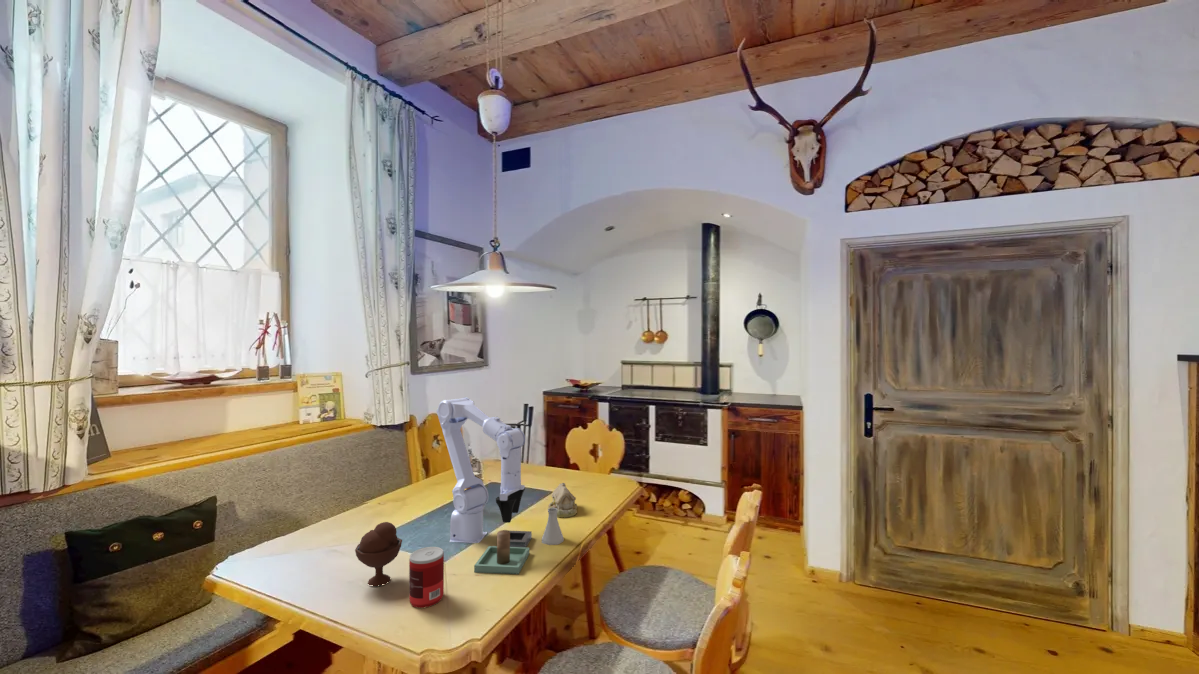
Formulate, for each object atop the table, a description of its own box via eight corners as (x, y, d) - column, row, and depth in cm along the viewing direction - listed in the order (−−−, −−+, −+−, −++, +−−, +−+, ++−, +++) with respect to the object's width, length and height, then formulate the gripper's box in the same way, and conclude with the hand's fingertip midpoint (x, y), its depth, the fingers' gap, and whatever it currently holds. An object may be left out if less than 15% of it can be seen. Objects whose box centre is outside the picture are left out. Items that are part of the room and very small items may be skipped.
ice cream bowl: (388, 567, 131) (388, 512, 131) (409, 580, 123) (409, 522, 124) (348, 582, 122) (348, 524, 122) (368, 597, 115) (368, 535, 115)
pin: (495, 564, 131) (495, 534, 131) (498, 558, 134) (499, 529, 134) (507, 564, 130) (508, 535, 130) (511, 559, 134) (511, 530, 134)
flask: (560, 547, 143) (560, 514, 143) (537, 545, 144) (537, 512, 144) (567, 538, 150) (567, 506, 150) (545, 536, 151) (545, 504, 151)
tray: (474, 574, 127) (474, 565, 127) (488, 553, 139) (488, 546, 139) (518, 576, 126) (518, 567, 126) (529, 555, 138) (529, 547, 138)
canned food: (447, 590, 119) (447, 546, 119) (437, 608, 111) (437, 560, 111) (416, 591, 118) (416, 546, 118) (404, 609, 110) (404, 561, 110)
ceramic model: (545, 506, 179) (545, 479, 179) (574, 503, 182) (574, 476, 182) (552, 519, 166) (552, 490, 166) (583, 516, 169) (583, 487, 169)
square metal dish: (498, 549, 141) (498, 541, 142) (506, 538, 149) (506, 530, 149) (525, 550, 141) (525, 542, 141) (531, 539, 149) (531, 531, 149)
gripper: (517, 478, 133) (517, 527, 133) (530, 464, 147) (530, 508, 147) (492, 477, 134) (492, 526, 134) (508, 464, 148) (508, 507, 148)
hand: (510, 517), depth 140 cm, fingers open, 7 cm apart
